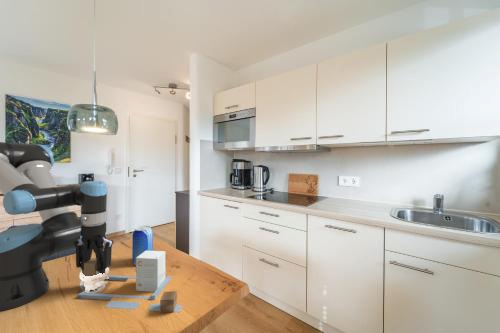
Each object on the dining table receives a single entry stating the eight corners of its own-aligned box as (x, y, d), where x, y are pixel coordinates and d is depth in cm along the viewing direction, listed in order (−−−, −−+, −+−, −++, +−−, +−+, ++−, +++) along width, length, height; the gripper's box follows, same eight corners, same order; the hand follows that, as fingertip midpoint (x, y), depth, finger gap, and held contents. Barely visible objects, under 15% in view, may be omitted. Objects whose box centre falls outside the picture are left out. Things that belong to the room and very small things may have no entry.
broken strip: (104, 310, 65) (104, 307, 65) (111, 304, 68) (111, 300, 68) (179, 315, 64) (179, 312, 64) (182, 309, 67) (182, 305, 67)
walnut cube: (160, 312, 63) (160, 300, 63) (163, 303, 67) (164, 291, 67) (173, 312, 64) (173, 299, 63) (176, 303, 68) (176, 291, 67)
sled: (73, 297, 71) (73, 269, 70) (101, 277, 83) (101, 253, 83) (154, 302, 69) (155, 273, 69) (170, 281, 81) (171, 256, 81)
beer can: (127, 265, 93) (128, 229, 93) (141, 256, 101) (142, 224, 101) (143, 267, 91) (144, 231, 91) (156, 259, 99) (156, 226, 99)
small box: (165, 284, 79) (166, 250, 79) (157, 295, 73) (157, 258, 73) (145, 283, 80) (145, 249, 80) (135, 293, 74) (135, 257, 73)
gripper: (62, 225, 73) (62, 290, 73) (108, 227, 72) (108, 293, 72) (80, 219, 80) (80, 278, 81) (123, 221, 79) (122, 281, 80)
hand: (93, 285), depth 77 cm, fingers closed on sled, 4 cm apart
